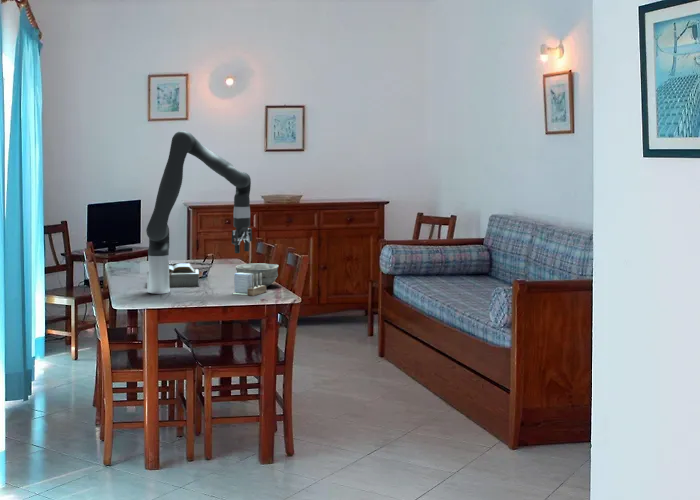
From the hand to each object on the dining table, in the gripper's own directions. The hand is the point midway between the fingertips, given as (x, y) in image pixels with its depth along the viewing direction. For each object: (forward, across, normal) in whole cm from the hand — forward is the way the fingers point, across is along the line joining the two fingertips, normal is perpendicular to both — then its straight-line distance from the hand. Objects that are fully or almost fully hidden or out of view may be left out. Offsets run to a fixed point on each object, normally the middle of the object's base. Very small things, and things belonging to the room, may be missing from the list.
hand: (242, 252), depth 411 cm
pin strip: (+19, 0, +8) cm, 20 cm away
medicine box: (+19, 0, +1) cm, 19 cm away
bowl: (+19, -20, -3) cm, 28 cm away
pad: (+19, 0, +2) cm, 19 cm away
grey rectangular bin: (+20, -10, -44) cm, 50 cm away
